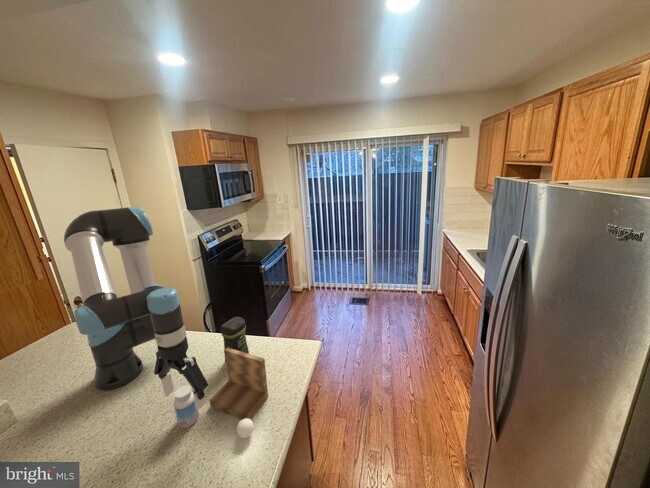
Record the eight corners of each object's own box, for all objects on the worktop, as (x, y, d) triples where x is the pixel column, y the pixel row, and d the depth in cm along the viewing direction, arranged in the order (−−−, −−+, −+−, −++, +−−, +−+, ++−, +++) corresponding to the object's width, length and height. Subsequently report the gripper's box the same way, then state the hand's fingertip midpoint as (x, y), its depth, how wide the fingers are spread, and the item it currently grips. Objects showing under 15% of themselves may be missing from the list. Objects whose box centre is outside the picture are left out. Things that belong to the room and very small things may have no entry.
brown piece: (210, 406, 88) (203, 367, 84) (232, 383, 98) (227, 347, 93) (249, 422, 82) (243, 381, 78) (268, 396, 92) (264, 358, 87)
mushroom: (241, 426, 81) (240, 413, 80) (256, 427, 81) (255, 414, 79) (235, 442, 76) (233, 429, 75) (250, 443, 76) (249, 430, 75)
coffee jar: (236, 370, 104) (231, 329, 99) (222, 364, 108) (216, 325, 103) (252, 355, 113) (248, 317, 108) (238, 350, 116) (233, 313, 111)
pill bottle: (203, 415, 85) (198, 387, 82) (186, 431, 80) (180, 402, 77) (190, 408, 88) (184, 381, 85) (173, 424, 82) (167, 395, 79)
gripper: (131, 339, 77) (146, 397, 83) (192, 358, 68) (205, 422, 73) (155, 325, 84) (168, 380, 89) (214, 341, 74) (224, 401, 80)
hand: (184, 399), depth 81 cm, fingers open, 13 cm apart
